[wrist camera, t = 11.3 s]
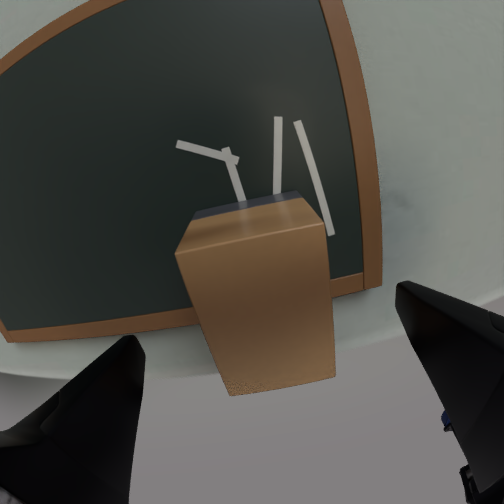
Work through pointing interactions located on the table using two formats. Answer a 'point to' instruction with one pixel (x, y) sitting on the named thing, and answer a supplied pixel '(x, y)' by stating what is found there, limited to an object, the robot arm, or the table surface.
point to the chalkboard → (172, 152)
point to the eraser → (261, 291)
